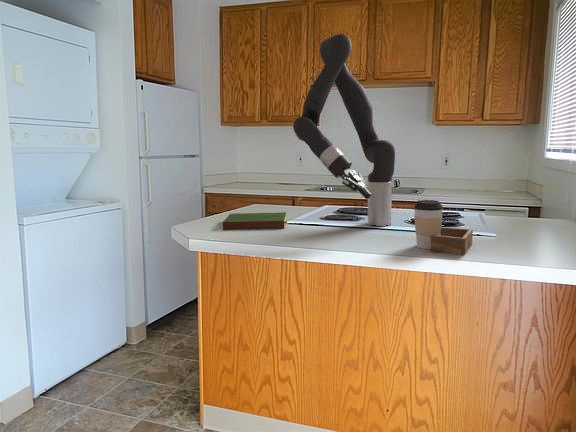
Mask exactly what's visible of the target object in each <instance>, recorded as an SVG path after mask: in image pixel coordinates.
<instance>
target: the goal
mask: <svg viewBox="0 0 576 432" xmlns="http://www.w3.org/2000/svg"><path fill="white" fill-rule="evenodd" d="M473 233H474V230H473V229H471V228H470V229H469V228H457V227H445V226H443V227H442V226H441V232H440V236H437V235H431V249H430V253H431V252H432V253H442V254H451V255H453V254H454V255H462V256H465V255H466V253H468V251H469V249H470V248H471V247H472V245H473Z"/></svg>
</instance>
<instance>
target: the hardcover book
mask: <svg viewBox="0 0 576 432" xmlns="http://www.w3.org/2000/svg"><path fill="white" fill-rule="evenodd" d="M286 215H287V212H284V211H283V212H248V213H247V212H242V213H241V212H240V213H230V214H228V215H227V216H226V217H225V219H224V220H223V221H222V230H223V231H242V230H243V231H244V230H245V231H247V230H285V225H286V224H287V222H288V221H286V220H287V219H286V217H287V216H286Z"/></svg>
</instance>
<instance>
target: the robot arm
mask: <svg viewBox="0 0 576 432" xmlns="http://www.w3.org/2000/svg"><path fill="white" fill-rule="evenodd" d="M352 50H353V43H352V40H351V39H350V37H349V36H348V35H346V34H343V33H338V34H334V35H332V36H330V37H327V38H325V39H324V40H322V41H321V43H320V45H319V54H320V57H321V60H322V62H323V63H324V66H323V67H322V69H321V71H320V73H319V74H318V76H317V77H316V79H315V80H314V82H313V83H312V84H311V86H310V87H309V90H308V91H307V94H306V97H305V100H304V102H303V105H302V114H301V116H298V117H297V118H296V119H295V120H294V121H293V126H292V129H293V132H294V133H295V136H296V138H297V139H298V140H300V141H303V142H304V143H305V144H306V145H307V146H308V147H309V149H310V151H311V152H312V153H313V154H314V155H315V157H317V158H318V160H319V161H320V162H321V163H322V165H323V166H324V167H325V168H326V169H327V170H328V171H329V172H330V173H331V174H332V176H333V177H335V178H336V179H338V178H341V179H342V181H341V183H342V185H344V186H346V187H347V188H349V189H351V190H352V191H354V192H357V193H360V195H362V196H363V198H364V199H366V200H367V225H369V226H372V225H376V226H375V227H387V226H386V225H388V226H391V225H392V193H393V192H392V190H393V189H392V187H393V186H392V184H393V183H392V182H393V181H392V180H393V176H394V174H395V165H396V163H395V161H396V150H395V145H394V144H393V143H392V142H391V141H389V140H385V139H380V138H379V137H378V134H377V133H376V130H375V127H374V123H373V122H374V121H373V120H374V118H373V106H372V103H371V99H370V98H369V95H368V93H367V90H366V89H365V87H364V86H363V85H362V84H361V83H360V82H359V81H358V80H357V79H356V77H355V76H353V74H352V73H351V72H350V70H349V68H348V67H347V64H346V63H347V61H348V59H349V57H350V55H351V53H352ZM334 84H335V86H336V88H337V90H338V93H339V94H340V98H341V100H342V103H343V105H344V107H345V109H346V112H347V113H348V116H349V118H350V120H351V122H352V124H353V127H354V129H355V132H356V133H357V136H358V139H359V141H360V146H361V148H362V152H363V154H364V157H365V159H366V160H367V161H368V162H369V163H371V164H373V168H372V171H371V172H370V173H369V174H368V175H367V184H366V181H365V179H364V177H363V175H362V173H357V172H356V171H355V170H353V169H352V168H351V167H352V161H351V160H350V159H349V158H348V157H347V156H346V155H345V154H344V153H343V152H342V151H341V150H340V149H339V148H338V147H337V146H336V145H334V144H333V143H332V142H331V141H330V139H328V138H327V137H326V136H325V135H324V134H323V132H322V131H321V129H320V128H318V124H319V121H320V117H321V113H322V112H323V109H324V107H325V104H326V101H327V99H328V97H329V94H330V93H331V90H332V88H333V86H334ZM366 185H367V187H366Z"/></svg>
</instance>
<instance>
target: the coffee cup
mask: <svg viewBox="0 0 576 432" xmlns="http://www.w3.org/2000/svg"><path fill="white" fill-rule="evenodd" d="M413 209H414V230H415V238H416V239H415V241H416V247H417V248H418V249H425V250H431V235H437V236H440V232H441V227H442V224H443V223H442V222H443V210H444V207H443V205H442V204H441V202H440V201H439V200H433V199H430V200H429V199H424V200H423V199H422V200H421V199H418V200H417V203H415V204H414V206H413Z"/></svg>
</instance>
